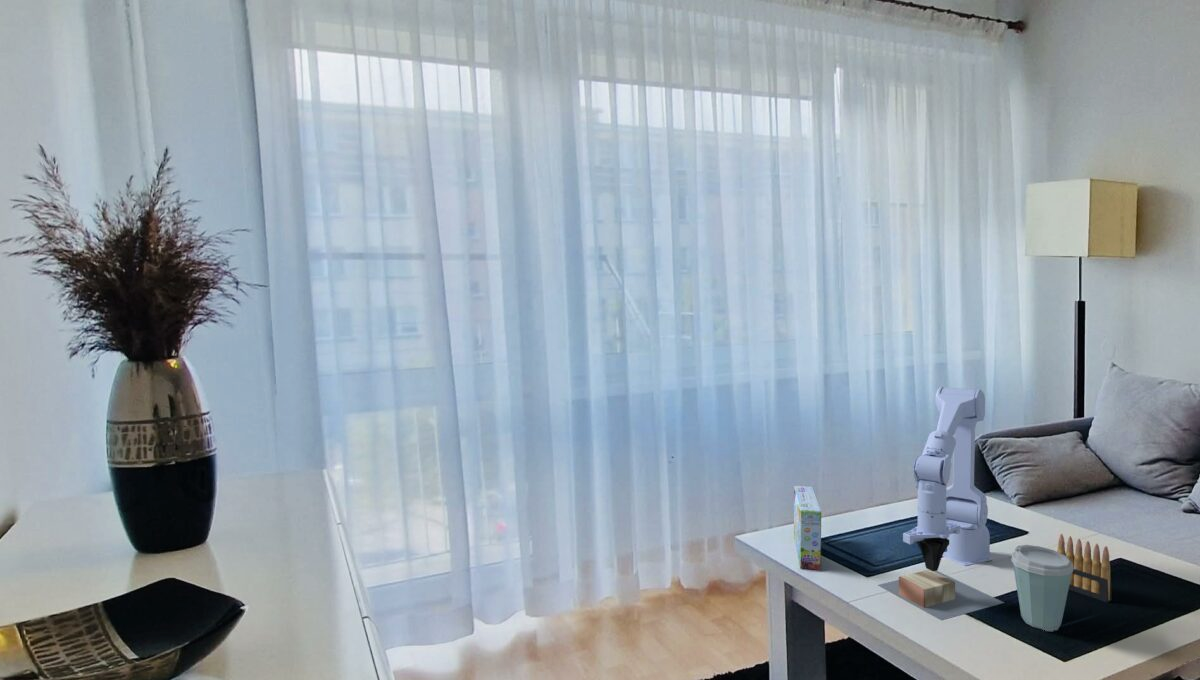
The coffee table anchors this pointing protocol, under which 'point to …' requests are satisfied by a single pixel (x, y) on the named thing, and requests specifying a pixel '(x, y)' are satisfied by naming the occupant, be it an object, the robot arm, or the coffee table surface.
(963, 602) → the rubber mat
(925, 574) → the beech block
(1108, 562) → the ammunition clip
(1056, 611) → the disposable coffee cup
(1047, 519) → the coffee table surface
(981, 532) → the robot arm
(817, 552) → the snack box
